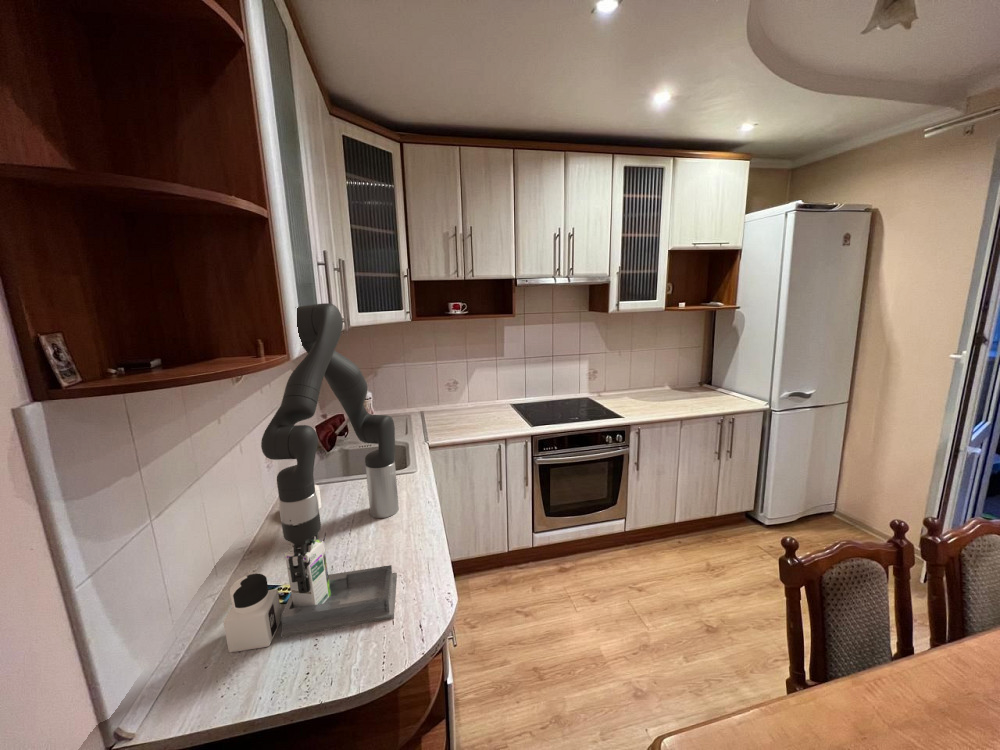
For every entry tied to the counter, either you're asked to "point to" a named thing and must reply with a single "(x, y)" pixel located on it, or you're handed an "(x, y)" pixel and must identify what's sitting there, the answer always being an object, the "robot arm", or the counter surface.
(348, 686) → the counter surface
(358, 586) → the low gray tray
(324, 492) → the counter surface
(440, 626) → the counter surface
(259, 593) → the container
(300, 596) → the syrup box
